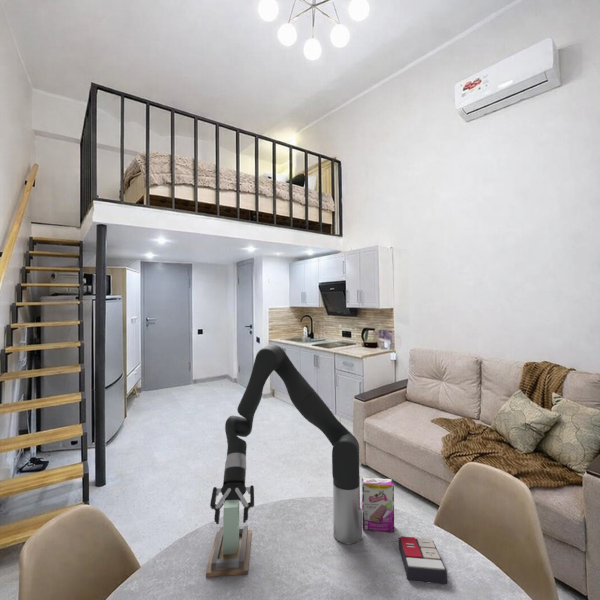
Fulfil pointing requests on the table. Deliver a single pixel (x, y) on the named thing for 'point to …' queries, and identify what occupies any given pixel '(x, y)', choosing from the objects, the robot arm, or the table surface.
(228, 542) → the pale green angular block
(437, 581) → the calculator
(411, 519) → the table surface
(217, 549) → the track
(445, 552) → the table surface
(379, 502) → the candy bar box
